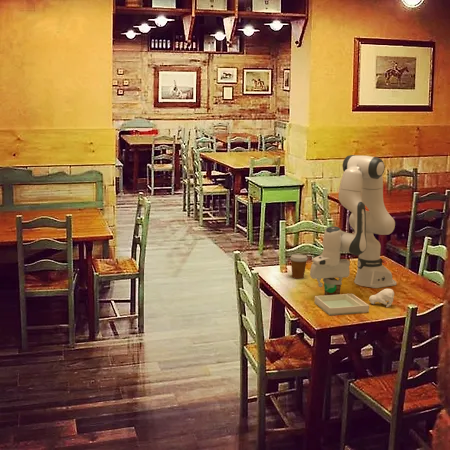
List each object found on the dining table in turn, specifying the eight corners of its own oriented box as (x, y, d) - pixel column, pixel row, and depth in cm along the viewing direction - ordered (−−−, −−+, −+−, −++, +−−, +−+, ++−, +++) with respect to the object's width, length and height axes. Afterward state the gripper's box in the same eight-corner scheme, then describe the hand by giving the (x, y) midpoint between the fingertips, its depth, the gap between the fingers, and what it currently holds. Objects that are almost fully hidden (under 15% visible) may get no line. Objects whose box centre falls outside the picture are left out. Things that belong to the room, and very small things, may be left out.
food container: (317, 293, 354) (318, 275, 352) (327, 292, 357) (328, 273, 355) (330, 301, 343) (331, 281, 341) (340, 299, 346) (342, 280, 344)
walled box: (351, 300, 345) (352, 293, 345) (368, 312, 328) (369, 305, 328) (314, 303, 340) (314, 296, 339) (329, 315, 323) (330, 308, 322)
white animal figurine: (393, 291, 333) (368, 290, 336) (394, 308, 335) (368, 307, 338) (394, 287, 339) (369, 286, 342) (394, 304, 341) (369, 303, 344)
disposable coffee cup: (310, 278, 381) (311, 257, 378) (296, 280, 376) (297, 259, 373) (299, 273, 389) (299, 253, 386) (285, 276, 383) (286, 255, 381)
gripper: (347, 257, 351) (345, 283, 354) (309, 258, 346) (308, 285, 349) (352, 260, 345) (350, 286, 348) (314, 261, 340) (312, 289, 343)
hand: (329, 286), depth 348 cm, fingers open, 8 cm apart
